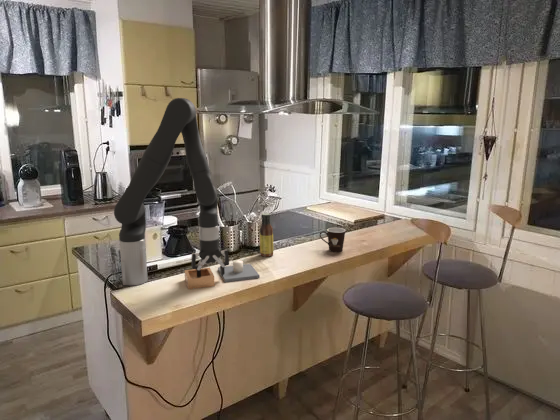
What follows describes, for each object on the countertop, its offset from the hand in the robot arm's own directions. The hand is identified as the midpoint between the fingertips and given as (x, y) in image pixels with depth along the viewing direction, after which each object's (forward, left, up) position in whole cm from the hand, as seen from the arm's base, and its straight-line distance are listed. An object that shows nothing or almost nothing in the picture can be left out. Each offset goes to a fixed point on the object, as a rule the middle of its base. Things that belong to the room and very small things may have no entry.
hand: (210, 277), depth 170 cm
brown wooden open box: (-5, 0, -2) cm, 5 cm away
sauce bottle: (+30, +24, -2) cm, 38 cm away
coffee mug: (+63, +22, -2) cm, 67 cm away
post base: (+12, +5, -2) cm, 13 cm away
